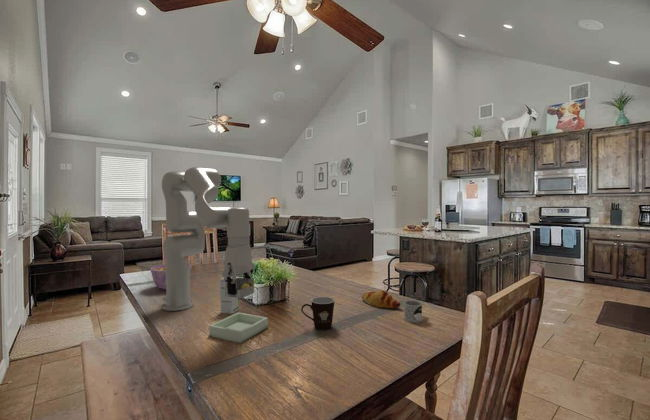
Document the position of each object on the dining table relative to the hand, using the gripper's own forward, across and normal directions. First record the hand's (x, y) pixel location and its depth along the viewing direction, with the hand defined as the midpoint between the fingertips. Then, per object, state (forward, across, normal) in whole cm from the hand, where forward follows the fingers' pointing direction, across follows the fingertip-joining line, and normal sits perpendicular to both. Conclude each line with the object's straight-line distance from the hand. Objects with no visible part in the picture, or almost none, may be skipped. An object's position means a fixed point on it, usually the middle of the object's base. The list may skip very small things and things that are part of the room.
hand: (239, 291), depth 114 cm
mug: (+15, -39, +55) cm, 69 cm away
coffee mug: (+15, -16, +24) cm, 32 cm away
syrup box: (+15, -15, -18) cm, 28 cm away
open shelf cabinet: (+1, 0, 0) cm, 1 cm away
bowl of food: (+14, -30, -72) cm, 80 cm away
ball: (0, -2, 0) cm, 2 cm away
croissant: (+15, -51, +37) cm, 65 cm away
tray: (+15, 0, 0) cm, 15 cm away
